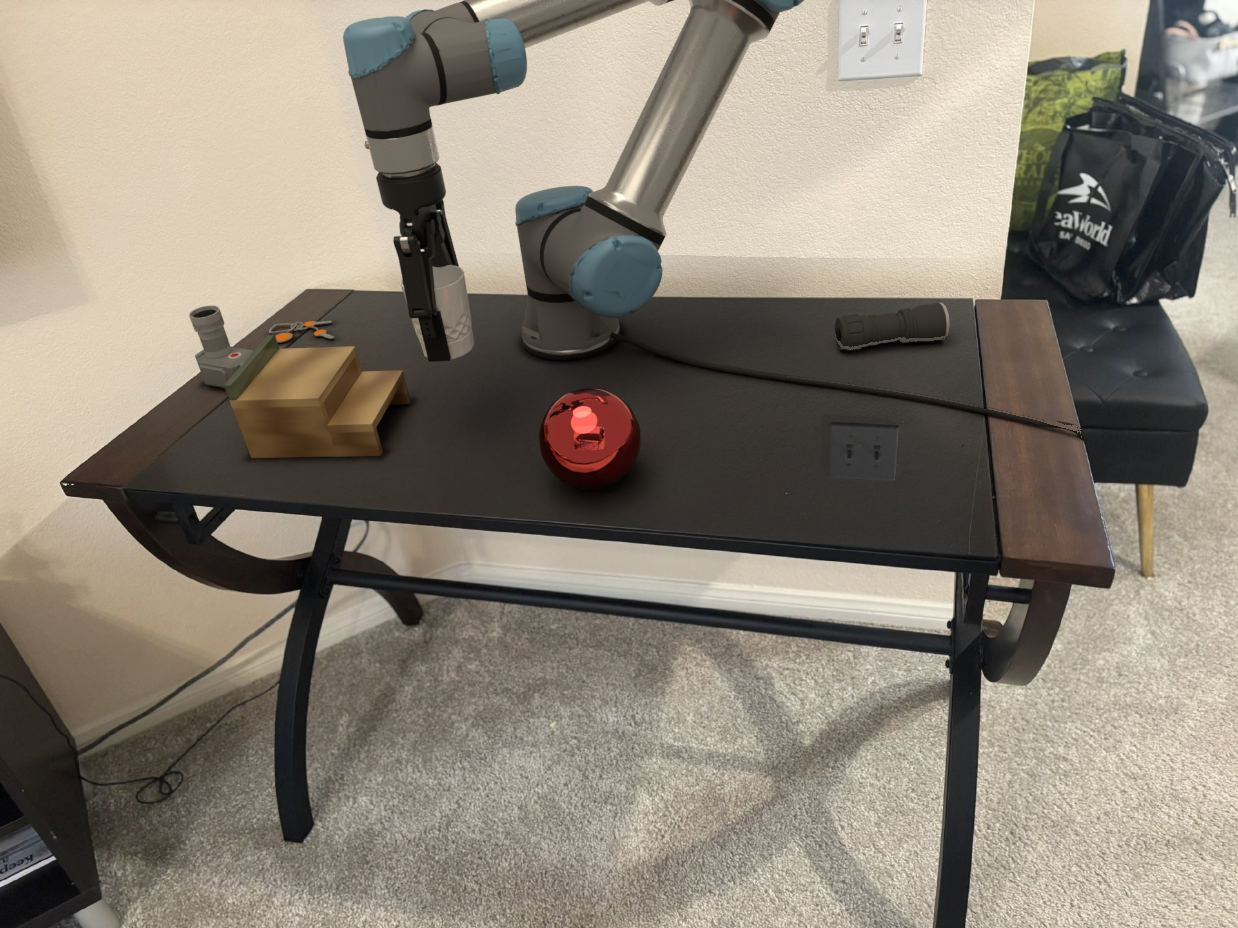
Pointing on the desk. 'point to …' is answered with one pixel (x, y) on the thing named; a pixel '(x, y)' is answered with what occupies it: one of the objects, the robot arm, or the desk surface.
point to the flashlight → (893, 325)
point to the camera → (215, 347)
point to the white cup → (451, 310)
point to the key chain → (287, 336)
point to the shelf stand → (311, 402)
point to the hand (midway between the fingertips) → (447, 344)
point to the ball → (590, 438)
